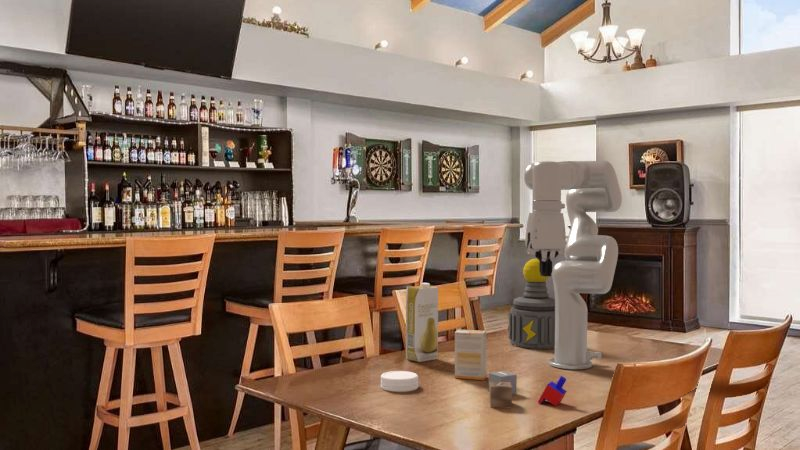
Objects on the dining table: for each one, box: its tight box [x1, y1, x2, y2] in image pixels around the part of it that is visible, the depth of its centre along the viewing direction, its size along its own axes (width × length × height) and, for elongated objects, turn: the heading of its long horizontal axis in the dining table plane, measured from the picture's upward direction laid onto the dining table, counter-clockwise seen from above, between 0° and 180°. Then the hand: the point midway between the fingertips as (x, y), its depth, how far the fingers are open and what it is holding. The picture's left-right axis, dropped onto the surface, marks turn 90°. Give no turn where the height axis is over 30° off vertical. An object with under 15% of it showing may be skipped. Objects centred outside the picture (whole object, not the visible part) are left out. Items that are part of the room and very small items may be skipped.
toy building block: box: [537, 376, 567, 407], centre depth 169 cm, size 4×4×8 cm
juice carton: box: [405, 282, 439, 363], centre depth 218 cm, size 9×8×24 cm
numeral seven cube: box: [488, 382, 513, 409], centre depth 168 cm, size 5×5×5 cm
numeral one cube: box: [488, 370, 518, 395], centre depth 179 cm, size 5×5×5 cm
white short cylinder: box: [380, 370, 419, 393], centre depth 184 cm, size 10×10×4 cm
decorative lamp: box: [507, 257, 555, 350], centre depth 244 cm, size 19×19×30 cm
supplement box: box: [454, 329, 488, 381], centre depth 195 cm, size 8×5×13 cm, turn 71°
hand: (545, 275), depth 188 cm, fingers closed
